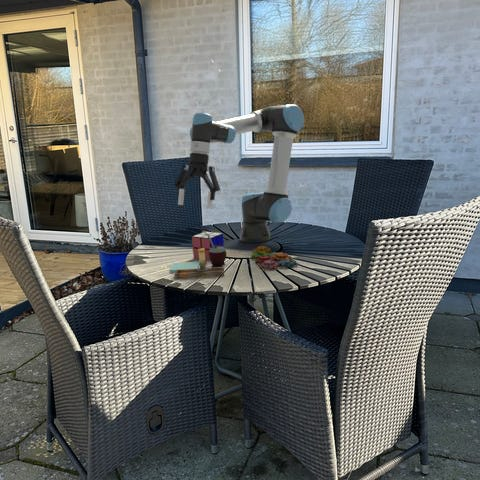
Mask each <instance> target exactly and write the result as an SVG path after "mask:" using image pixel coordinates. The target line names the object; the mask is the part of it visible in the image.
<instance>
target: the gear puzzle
mask: <svg viewBox="0 0 480 480" xmlns="http://www.w3.org/2000/svg"><path fill="white" fill-rule="evenodd" d="M252 252H253V253H252V254H251V255H250V258H251V259H252V260H253V261H254V263H256V265H257V266H258V267H259V268H261V270H262V271H263V272H268V271H270V270H275V271H276V270H281V269H282V270H283V269H287V268H290V267H291V268H293V269H294V268H298V267H299V265H300V263H299V262H298V261H296V259H295V260H294V258H293V257H291V256H292V255H289V254H288V253H283V252H282V251H281V252H276V251H275V252H274V251H273V252H272V250H271V248H270V247H267V246H266V245H260V246H257V247H256V248H254V249H253V250H252ZM270 252H271V253H270Z"/></svg>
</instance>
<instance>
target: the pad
mask: <svg viewBox="0 0 480 480" xmlns="http://www.w3.org/2000/svg"><path fill="white" fill-rule="evenodd" d="M198 268H200V265H199V261H186V262H185V261H184V262H183V261H182V262H172V265H171V266H170V269H169V274H175V271H176V270H181V269H198Z"/></svg>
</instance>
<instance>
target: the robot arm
mask: <svg viewBox="0 0 480 480" xmlns="http://www.w3.org/2000/svg"><path fill="white" fill-rule="evenodd" d="M304 124H305V116H304V113H303V110H302V109H301V108H300V107H299V105H297V104H288V103H287V104H281V105H272V106H267V107H265V108H261V109H258V110H255V111H251V112H250V113H249V114H246V115H242V116H237V117H232V118H226V119H222V120H218V121H214V120H213V115H212V114H210V113H205V112H197V113H194V115H193V118H192V126H191V128H190V130H189V137H190V150H189V151H190V153H189V161H188V162H189V164H183V163H182V166H181V170H180V171H179V174H178V176H177V178H176V180H175V182H174V183H173V186H174V187H175V188H177V194H176V196H177V197H178V201H177V206H184V199H185V188H184V187H185V186H186V185H187V184H188V183H189V182H190V181H191V180H192V179H193V178H194V177H195V178H197V177H198V178H202V179H203V181H204V183H205V184H206V186H207V188H208V190H209V191H208V192H207V202H206V203H207V205H206V209H213V202H214V201H215V197H216V192H220V190H221V187H220V185H219V182H218V179H217V175H216V172H215V170H216V167H215V166H208V164H209V159H210V158H209V157H210V155H208V154H210V150H211V149H210V148H211V147H210V145H211V143H223V144H232V143H233V142H234V141H235V140H236V136H237V135H241V134H245V133H246V134H247V133H250V132H254V133H259V132H271V134H272V136H273V137H274V140H273V145H272V146H273V147H272V152H271V153H272V154H271V160H270V161H271V163H270V168H269V169H270V170H269V177H268V184H267V189H265V190H264V191H263V192H261V191H259V192H254V193H253V192H252V193H246V194H243V195H242V196H241V213H242V228H241V231H240V233H239V234H240V235H239V237H240V239H239V240H240V241H241V242H242V243H243V242H244V243H248V244H251V243H264V242H268V241H270V240H271V239H272V238H271V236H272V235H271V232H270V230H269V229H270V228H269V227H268V223H267V222H271V223H279V224H280V223H284V222H286V220H287V219H289V217H290V216H291V214H292V212H293V204H292V201H291V200H290V199H289V194H288V192H287V185H288V178H289V170H290V164H291V163H290V161H291V156H292V149H293V143H294V142H293V141H294V139H295V138H296V137H297V136H298V131H300V130H301V129H302V128H303V127H304ZM188 170H189V171H188ZM207 172H208V173H207ZM208 174H209V175H208ZM209 177H210V178H209Z"/></svg>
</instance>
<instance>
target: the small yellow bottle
mask: <svg viewBox="0 0 480 480" xmlns="http://www.w3.org/2000/svg"><path fill="white" fill-rule="evenodd" d="M198 252H199V259H198V262H199V268H198V272H207V271H209V269H208V268H209V266H207V263H206V261H207V260H205V249H204V248H200V249H198Z"/></svg>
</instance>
